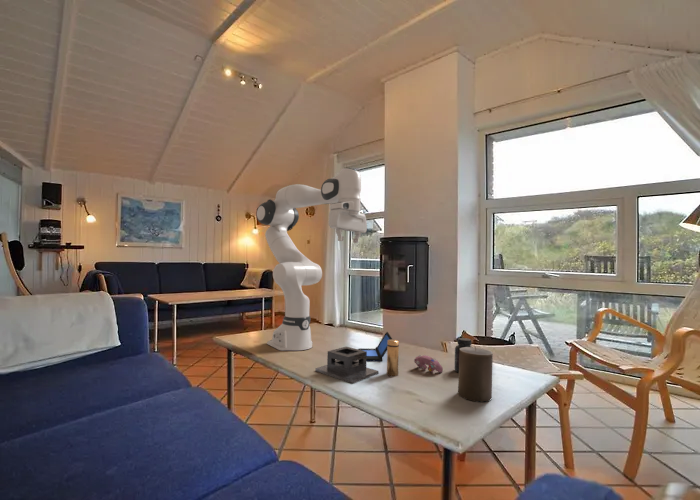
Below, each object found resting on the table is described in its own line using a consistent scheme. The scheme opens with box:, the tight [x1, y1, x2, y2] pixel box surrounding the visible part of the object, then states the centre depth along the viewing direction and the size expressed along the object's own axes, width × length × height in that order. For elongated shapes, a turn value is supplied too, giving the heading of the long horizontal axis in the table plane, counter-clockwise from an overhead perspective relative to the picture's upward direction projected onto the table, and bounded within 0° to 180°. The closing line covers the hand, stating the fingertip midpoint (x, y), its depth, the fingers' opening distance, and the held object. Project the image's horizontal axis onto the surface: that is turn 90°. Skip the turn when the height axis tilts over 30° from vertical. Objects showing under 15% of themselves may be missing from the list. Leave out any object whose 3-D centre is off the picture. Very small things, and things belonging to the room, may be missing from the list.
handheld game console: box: [357, 331, 393, 363], centre depth 146 cm, size 16×13×9 cm
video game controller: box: [413, 354, 444, 373], centre depth 128 cm, size 10×5×7 cm, turn 47°
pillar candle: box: [457, 346, 494, 403], centre depth 105 cm, size 10×10×15 cm
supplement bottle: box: [453, 337, 472, 374], centre depth 128 cm, size 7×7×12 cm
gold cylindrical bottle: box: [386, 338, 400, 377], centre depth 123 cm, size 4×4×12 cm
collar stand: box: [315, 346, 379, 385], centre depth 124 cm, size 18×14×8 cm
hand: (348, 242), depth 138 cm, fingers open, 8 cm apart
